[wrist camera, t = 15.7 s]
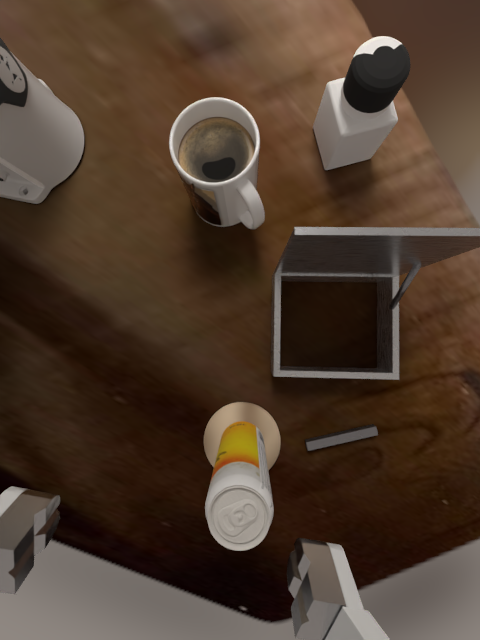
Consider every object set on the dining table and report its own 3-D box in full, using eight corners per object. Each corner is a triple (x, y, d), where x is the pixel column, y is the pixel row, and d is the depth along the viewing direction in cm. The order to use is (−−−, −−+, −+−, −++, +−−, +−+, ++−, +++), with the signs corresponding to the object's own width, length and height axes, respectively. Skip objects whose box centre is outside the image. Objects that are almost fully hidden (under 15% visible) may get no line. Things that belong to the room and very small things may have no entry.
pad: (203, 477, 37) (202, 479, 36) (205, 400, 37) (204, 401, 37) (279, 480, 36) (280, 482, 36) (280, 402, 37) (281, 403, 36)
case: (270, 371, 37) (292, 411, 19) (272, 275, 37) (294, 227, 20) (382, 374, 37) (513, 417, 19) (382, 277, 37) (510, 228, 19)
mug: (260, 162, 38) (266, 94, 27) (262, 241, 38) (268, 204, 27) (191, 164, 38) (168, 98, 27) (191, 242, 38) (168, 207, 27)
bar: (306, 446, 37) (308, 450, 36) (304, 438, 37) (306, 442, 36) (373, 431, 37) (378, 434, 36) (371, 423, 37) (376, 426, 36)
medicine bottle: (371, 159, 38) (428, 81, 26) (324, 172, 38) (359, 99, 26) (358, 114, 38) (409, 15, 26) (312, 127, 38) (341, 34, 26)
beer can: (213, 432, 37) (189, 505, 22) (249, 411, 37) (250, 468, 22) (235, 470, 36) (226, 569, 21) (271, 448, 36) (288, 532, 21)
